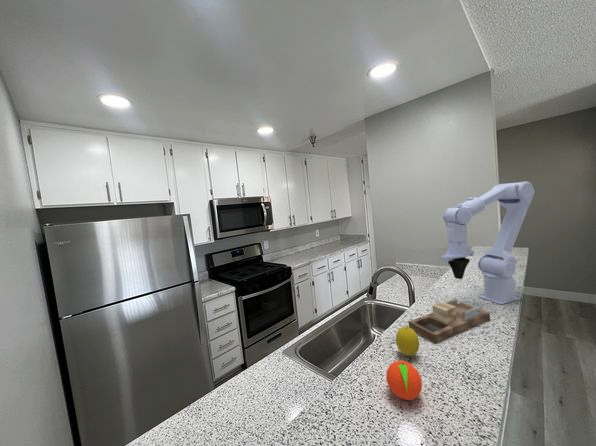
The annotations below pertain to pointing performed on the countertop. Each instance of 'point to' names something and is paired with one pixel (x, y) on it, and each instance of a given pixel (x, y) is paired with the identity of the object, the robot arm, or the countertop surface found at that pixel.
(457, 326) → the board
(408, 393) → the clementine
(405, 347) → the lemon
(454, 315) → the maple block
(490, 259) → the robot arm
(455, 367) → the countertop surface
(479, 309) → the channel walls
